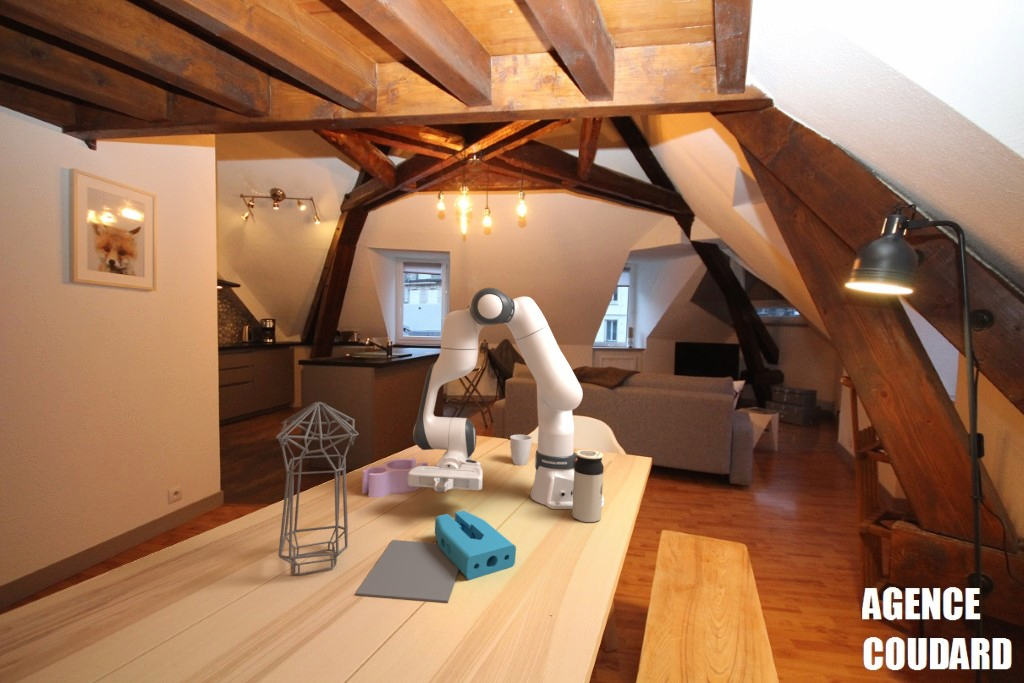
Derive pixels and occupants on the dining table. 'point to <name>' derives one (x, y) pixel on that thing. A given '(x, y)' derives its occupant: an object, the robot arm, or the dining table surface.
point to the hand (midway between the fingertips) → (440, 488)
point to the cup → (520, 448)
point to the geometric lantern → (286, 437)
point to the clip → (389, 477)
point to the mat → (411, 573)
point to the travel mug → (588, 486)
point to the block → (473, 544)
